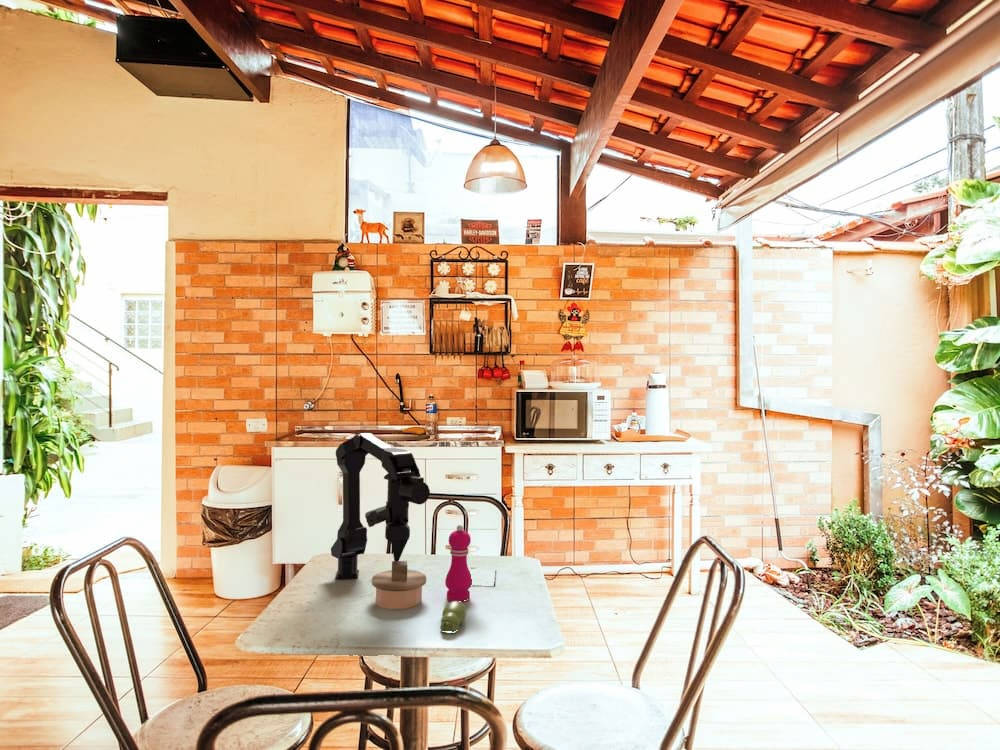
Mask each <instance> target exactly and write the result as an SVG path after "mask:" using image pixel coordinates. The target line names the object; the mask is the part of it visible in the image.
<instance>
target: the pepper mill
mask: <svg viewBox="0 0 1000 750" xmlns="http://www.w3.org/2000/svg"><path fill="white" fill-rule="evenodd" d="M471 541H472V540H471V535H470V534H469V533H468V532H467V531H466V530H464V526H463V525H462V524H458V525H457V526H456V530H453V531H452V532H451V533H450V535H449V536H448V544H449V546H450V547H451V548H450V549H449V550H450V552H449V554H450V555H451V562H450V568H449V570H448V572H447V574H446V576H445V581H444V582H445V583H444V585H445V587H446V589H448V590H447V591H446V599H447V600H448V601H449V600H451V601H450V602H452V601H464V600H467V599H469V600H470V598H471V595H470V594H471V592H470V588H471V587H472V586H471V585H472V579H471V574H470V569H469V566H468V564H467V560H468V559H467V557H468V555H469V551H470V549H469V547H470V545H471ZM467 601H468V600H467ZM464 602H465V601H464Z"/></svg>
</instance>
